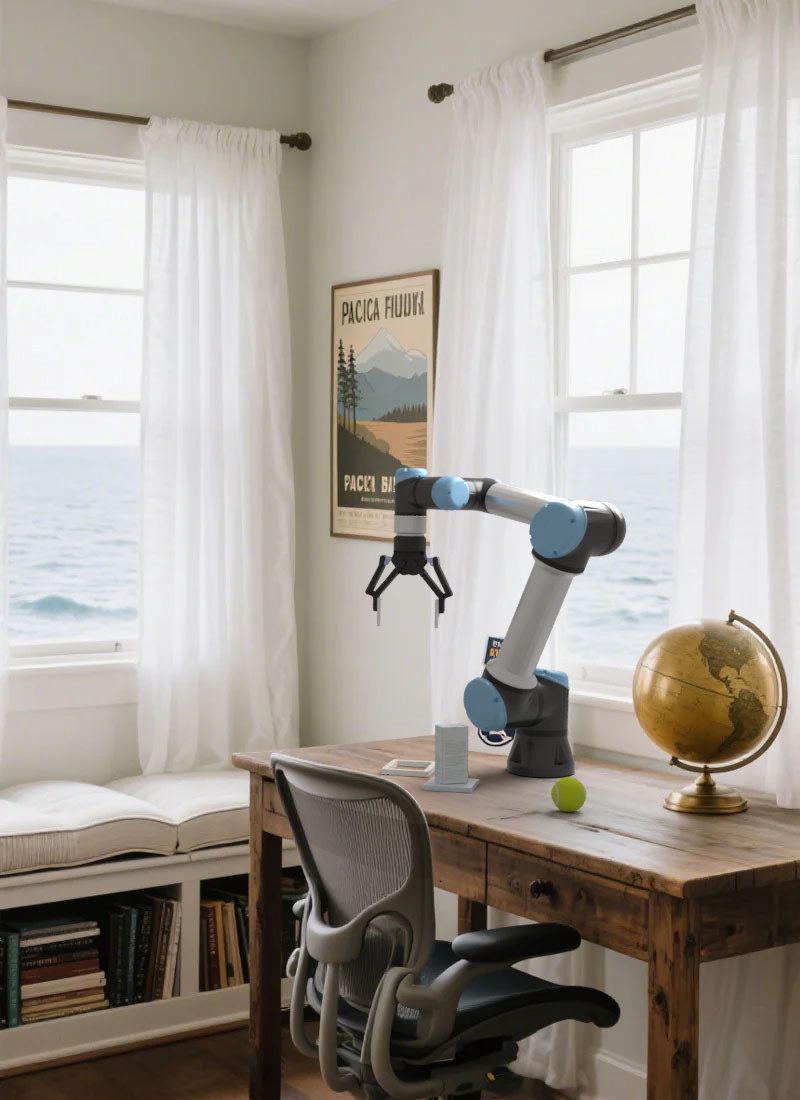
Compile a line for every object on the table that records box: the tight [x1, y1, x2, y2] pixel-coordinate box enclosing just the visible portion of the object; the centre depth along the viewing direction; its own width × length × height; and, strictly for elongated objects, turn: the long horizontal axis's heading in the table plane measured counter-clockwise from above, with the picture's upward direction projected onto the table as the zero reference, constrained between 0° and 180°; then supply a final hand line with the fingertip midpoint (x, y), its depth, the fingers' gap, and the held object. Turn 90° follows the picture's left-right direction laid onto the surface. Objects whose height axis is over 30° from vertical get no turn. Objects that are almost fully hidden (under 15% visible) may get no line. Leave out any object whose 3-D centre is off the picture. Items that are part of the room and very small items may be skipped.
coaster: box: [423, 775, 480, 794], centre depth 293 cm, size 10×10×1 cm
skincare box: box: [434, 722, 469, 784], centre depth 293 cm, size 6×4×12 cm
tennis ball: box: [551, 776, 587, 813], centre depth 271 cm, size 7×7×7 cm
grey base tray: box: [380, 758, 435, 778], centre depth 310 cm, size 10×12×1 cm
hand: (408, 626), depth 324 cm, fingers open, 13 cm apart
